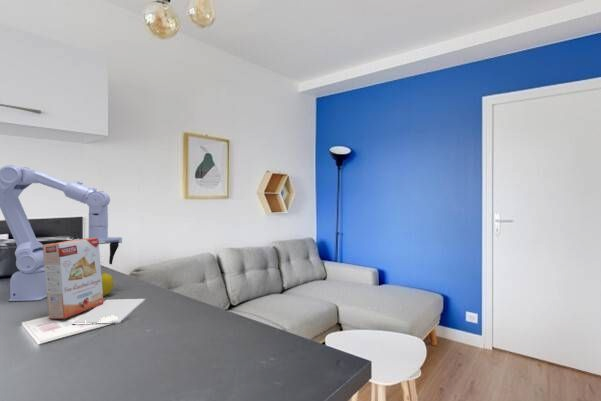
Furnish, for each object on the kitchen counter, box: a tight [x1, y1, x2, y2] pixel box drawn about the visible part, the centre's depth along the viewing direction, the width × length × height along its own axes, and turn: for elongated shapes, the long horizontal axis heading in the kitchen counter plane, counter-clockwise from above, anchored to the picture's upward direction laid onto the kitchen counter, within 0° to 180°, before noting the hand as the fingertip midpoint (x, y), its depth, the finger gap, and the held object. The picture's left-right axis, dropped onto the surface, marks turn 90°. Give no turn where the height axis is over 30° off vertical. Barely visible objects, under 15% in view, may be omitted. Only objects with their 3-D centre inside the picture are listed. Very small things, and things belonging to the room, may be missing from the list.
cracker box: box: [43, 237, 104, 320], centre depth 99 cm, size 14×6×21 cm, turn 168°
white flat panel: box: [72, 298, 146, 324], centre depth 100 cm, size 12×20×1 cm, turn 7°
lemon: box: [101, 272, 115, 297], centre depth 115 cm, size 6×6×8 cm
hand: (98, 264), depth 117 cm, fingers open, 7 cm apart
